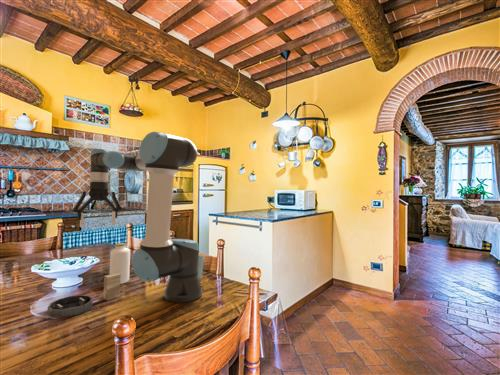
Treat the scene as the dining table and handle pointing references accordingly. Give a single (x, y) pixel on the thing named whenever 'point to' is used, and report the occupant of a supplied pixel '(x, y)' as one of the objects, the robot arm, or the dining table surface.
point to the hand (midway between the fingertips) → (97, 225)
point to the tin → (70, 306)
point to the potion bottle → (120, 262)
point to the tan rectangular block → (111, 286)
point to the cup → (200, 266)
